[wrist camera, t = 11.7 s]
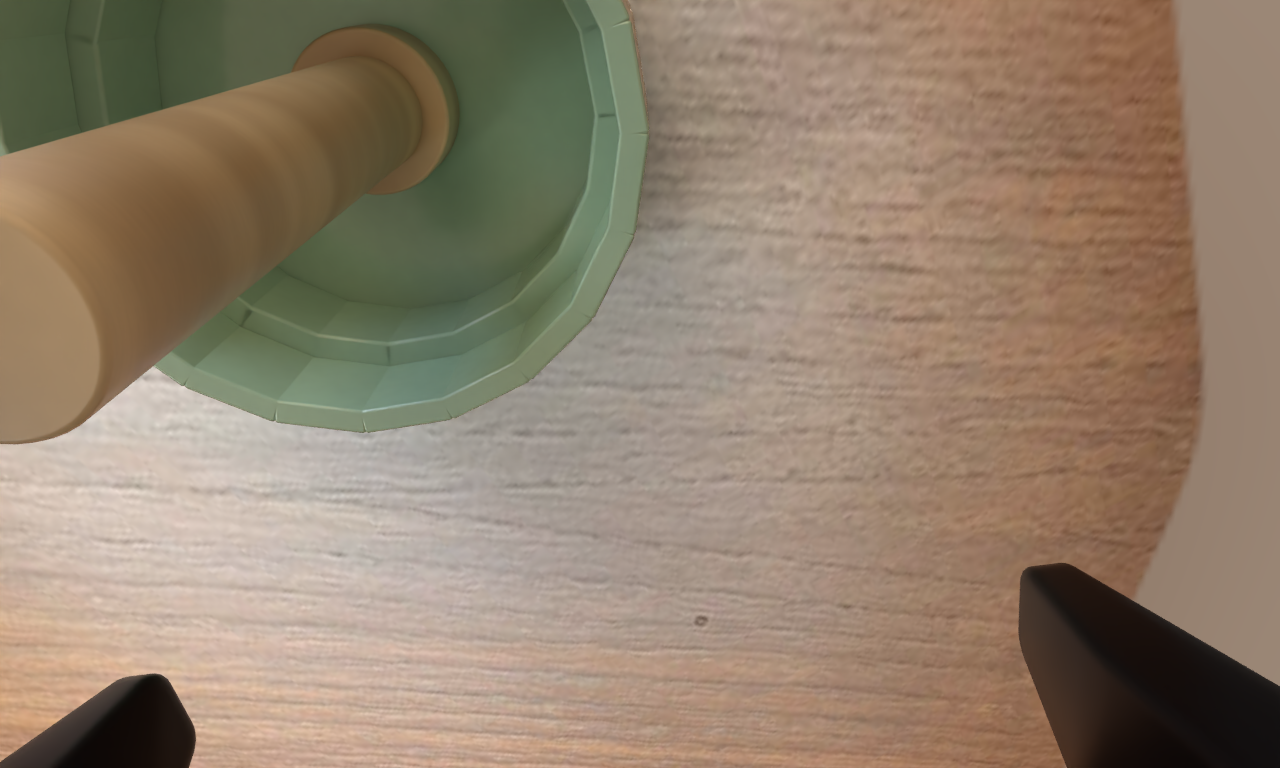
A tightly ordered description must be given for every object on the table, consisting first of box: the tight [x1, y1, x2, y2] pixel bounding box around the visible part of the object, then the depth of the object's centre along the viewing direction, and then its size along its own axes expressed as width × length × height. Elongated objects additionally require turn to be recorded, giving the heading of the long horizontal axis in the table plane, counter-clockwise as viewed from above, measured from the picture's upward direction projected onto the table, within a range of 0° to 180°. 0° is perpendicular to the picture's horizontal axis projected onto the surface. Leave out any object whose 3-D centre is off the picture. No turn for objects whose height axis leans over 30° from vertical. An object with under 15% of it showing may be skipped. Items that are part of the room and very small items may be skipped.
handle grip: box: [0, 24, 460, 444], centre depth 12 cm, size 3×3×12 cm
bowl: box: [0, 0, 649, 433], centre depth 16 cm, size 11×11×5 cm
